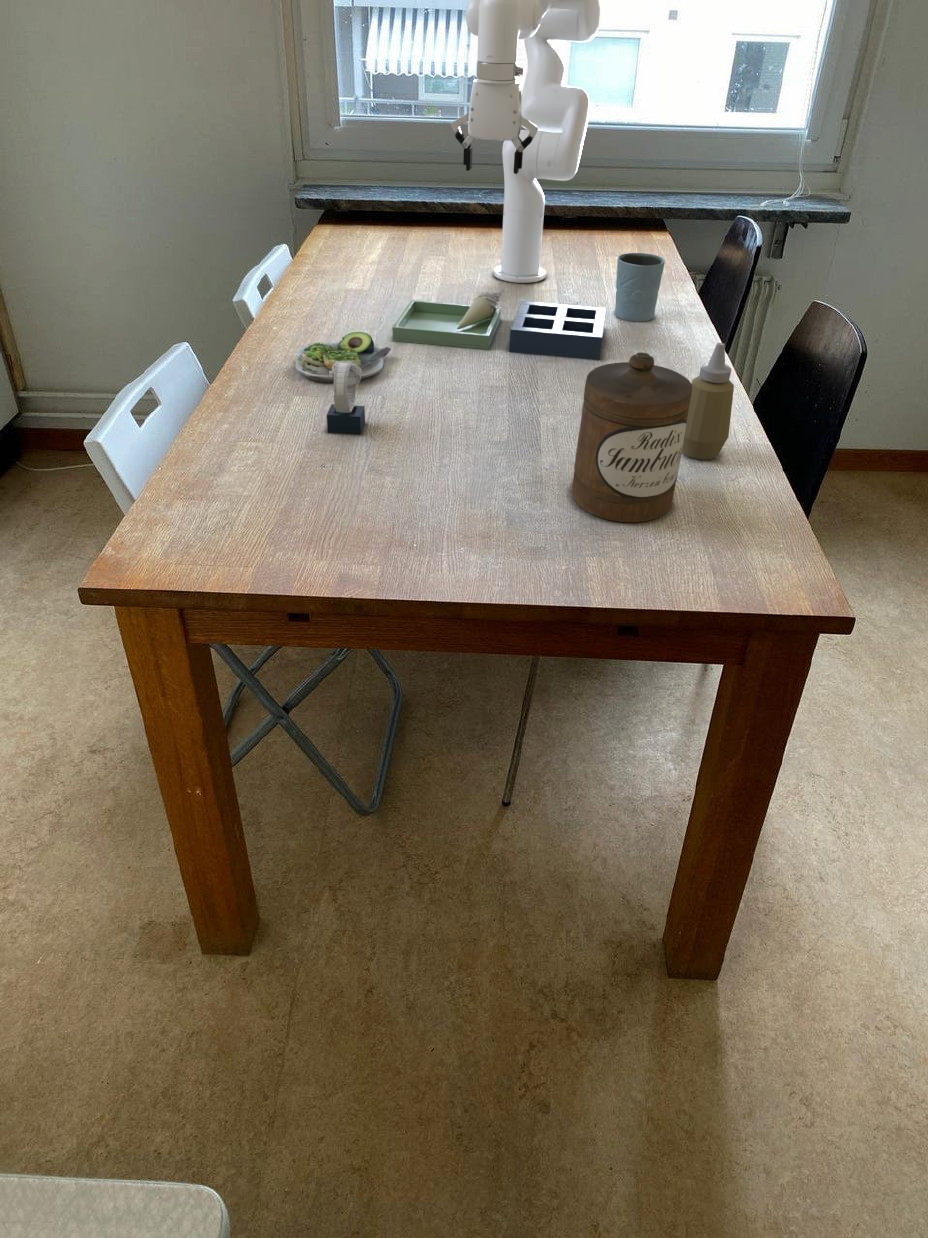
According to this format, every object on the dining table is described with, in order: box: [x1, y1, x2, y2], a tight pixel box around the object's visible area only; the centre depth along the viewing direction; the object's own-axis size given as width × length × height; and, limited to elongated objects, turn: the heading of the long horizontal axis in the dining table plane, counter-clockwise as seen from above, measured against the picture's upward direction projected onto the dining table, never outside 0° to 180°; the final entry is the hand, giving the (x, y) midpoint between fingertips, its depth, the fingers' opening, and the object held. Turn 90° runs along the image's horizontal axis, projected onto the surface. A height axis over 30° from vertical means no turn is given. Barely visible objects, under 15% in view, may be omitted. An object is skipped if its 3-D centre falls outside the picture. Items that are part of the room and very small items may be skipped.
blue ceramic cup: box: [614, 252, 666, 323], centre depth 199 cm, size 10×10×12 cm
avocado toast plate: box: [294, 331, 392, 384], centre depth 171 cm, size 19×18×5 cm
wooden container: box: [571, 351, 692, 523], centre depth 130 cm, size 15×15×22 cm
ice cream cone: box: [457, 289, 504, 329], centre depth 192 cm, size 5×5×15 cm
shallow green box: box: [392, 299, 502, 350], centre depth 191 cm, size 18×20×3 cm
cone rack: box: [508, 300, 607, 361], centre depth 187 cm, size 18×18×4 cm
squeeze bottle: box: [682, 342, 735, 461], centre depth 144 cm, size 8×8×18 cm
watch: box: [326, 361, 366, 435], centre depth 149 cm, size 6×8×11 cm
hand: (492, 170), depth 185 cm, fingers open, 9 cm apart
